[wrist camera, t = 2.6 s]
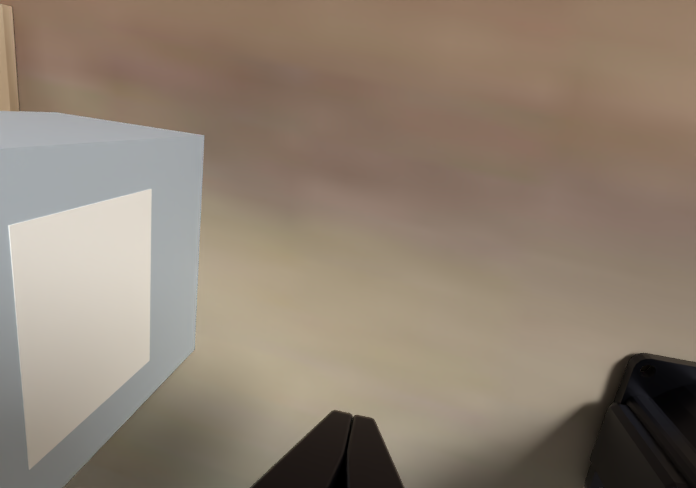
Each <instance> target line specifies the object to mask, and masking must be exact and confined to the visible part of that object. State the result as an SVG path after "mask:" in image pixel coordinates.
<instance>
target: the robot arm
mask: <svg viewBox="0 0 696 488" xmlns="http://www.w3.org/2000/svg"><path fill="white" fill-rule="evenodd" d="M645 365H650V367H649V368H648V370H646V371H640V370H641V368H642V367H643V366H645ZM352 419H353V420H352ZM590 461H591V463H592V464H591V466H590V469H589V472H588V475H587V477H586V480H585V485H584V487H585V488H696V362H691V361H686V360H680V359H675V358H670V357H664V356H659V355H653V354H648V353H640V354H637V355H635V356H633V357H632V358H631V359H630V360H629V362H628V364H627V367H626V370H625V373H624V375H623V378H622V381H621V384H620V386H619V389H618V392H617V395H616V397H615V400H614V403H613V404H612V405H610V406H609V407H608V410H607V412H606V415H605V418H604V421H603V424H602V426H601V429H600V432H599V435H598V437H597V440H596V443H595V446H594V449H593V451H592V454H591V457H590ZM250 488H404V485H403V483H402V481H401V479H400V476H399V474H398V472H397V470H396V467H395V465H394V463H393V460H392V458H391V456H390V454H389V451H388V449H387V447H386V445H385V442H384V440H383V438H382V436H381V433H380V431H379V429H378V426H377V424H376V422H375V420H374V419H373V418H370V417H365V416H360V415H355V416H354V417H353V416H352V415H351V414H350V413H346V412H341V411H337V410H333V411H331V412H330V413H329V414H328V415H327V416H326V417H325V418H324V419H323V420H322V421H321V422H320V423H319V424H317V425H316V426H315V427H314V428H313V429H312V430H311V431H310V432H309V433H308V434H307V435H306V436H305V437H304V438H302V439H301V440H300V441H299V442H298V443H297V444H296V445H295V446H294V447H293V448H292V449H291V450H290V451H289V452H288V453H286V454H285V455H284V456H283V457H282V458H281V459H280V460H279V461H278V462H277V463H276V464H275V465H274V466H273V467H271V468H270V469H269V470H268V471H267V472H266V473H265V474H264V475H263V476H262V477H261V478H260V479H259V480H258V481H257V482H255V483H254V484H253V485H252V486H251V487H250Z"/></svg>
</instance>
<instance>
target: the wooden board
mask: <svg viewBox="0 0 696 488" xmlns="http://www.w3.org/2000/svg"><path fill="white" fill-rule="evenodd" d="M0 111H19V99H18V85H17V71H16V56H15V42H14V27H13V13H12V7H10V6H7V5H4V4H0Z"/></svg>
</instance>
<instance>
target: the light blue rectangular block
mask: <svg viewBox="0 0 696 488" xmlns="http://www.w3.org/2000/svg"><path fill="white" fill-rule="evenodd" d="M203 153H204V135H198V134H192V133H186V132H179V131H173V130H166V129H160V128H153V127H147V126H140V125H134V124H128V123H121V122H115V121H108V120H102V119H95V118H89V117H82V116H76V115H69V114H63V113H57V112H22V111H0V488H63V487H64V486H65V485H66V484H67V483H68V482H69V480H70V479H71V478H72V477H73V476H74V475H75V474H76V473H77V472H78V471H79V470H80V469H81V468H82V467H83V466H84V465H85V464H86V463H87V462H88V461H89V460H90V458H91V457H92V456H93V455H94V454H95V453H96V452H97V451H98V450H99V449H100V448H101V447H102V446H103V445H104V444H105V443H106V442H107V441H108V440H109V439H110V438H111V436H112V435H113V434H114V433H115V432H116V431H117V430H118V429H119V428H120V427H121V426H122V425H123V424H124V423H125V422H126V421H127V420H128V419H129V418H130V417H131V416H132V414H133V413H134V412H135V411H136V410H137V409H138V408H139V407H140V406H141V405H142V404H143V403H144V402H145V401H146V400H147V399H148V398H149V397H150V396H151V395H152V394H153V392H154V391H155V390H156V389H157V388H158V387H159V386H160V385H161V384H162V383H163V382H164V381H165V380H166V379H167V378H168V377H169V376H170V375H171V374H172V373H173V372H174V370H175V369H176V368H177V367H178V366H179V365H180V364H181V363H182V362H183V361H184V360H185V359H186V358H187V357H188V356H189V355H190V354H191V353H192V352H193V351H194V350H195V330H196V308H197V286H198V264H199V241H200V219H201V197H202V175H203Z"/></svg>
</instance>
